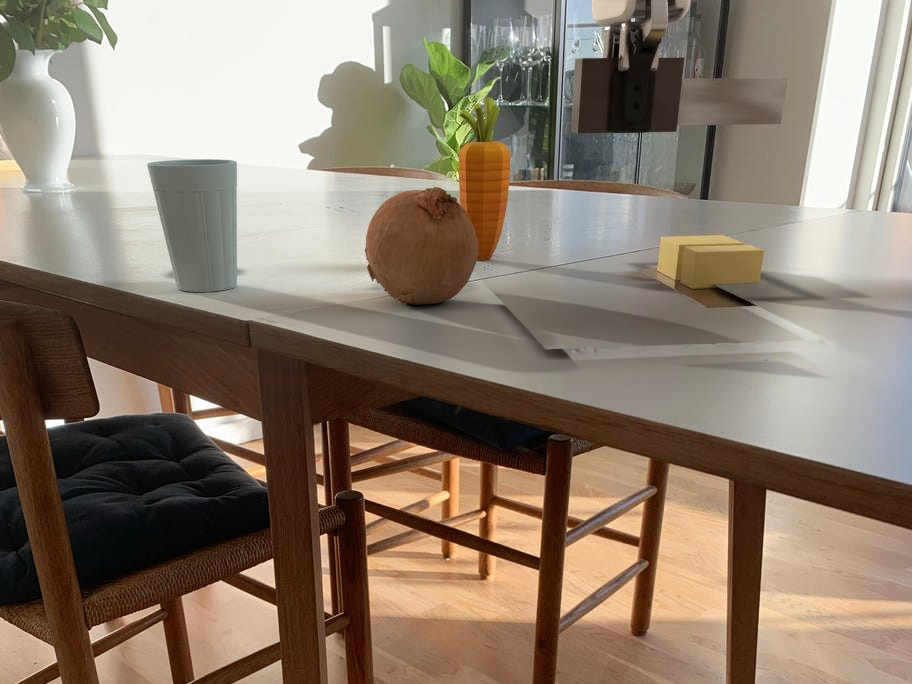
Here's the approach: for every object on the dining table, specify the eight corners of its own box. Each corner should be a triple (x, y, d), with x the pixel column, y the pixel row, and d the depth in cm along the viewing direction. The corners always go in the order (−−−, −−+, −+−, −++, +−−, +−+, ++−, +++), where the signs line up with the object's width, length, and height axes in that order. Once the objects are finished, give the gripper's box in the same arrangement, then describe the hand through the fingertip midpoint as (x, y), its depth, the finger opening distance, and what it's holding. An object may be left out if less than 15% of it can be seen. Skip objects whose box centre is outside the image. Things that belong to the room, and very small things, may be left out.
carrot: (481, 273, 93) (484, 97, 85) (448, 267, 96) (448, 97, 88) (517, 267, 96) (523, 97, 88) (483, 262, 99) (486, 96, 91)
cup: (175, 279, 91) (159, 158, 86) (254, 279, 91) (243, 158, 86) (156, 295, 85) (136, 165, 79) (241, 294, 85) (228, 165, 79)
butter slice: (744, 280, 84) (750, 244, 83) (758, 287, 81) (764, 249, 80) (679, 282, 83) (684, 246, 82) (691, 289, 81) (696, 251, 79)
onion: (459, 342, 81) (501, 235, 74) (352, 315, 78) (385, 202, 71) (452, 281, 87) (490, 177, 80) (352, 255, 84) (382, 144, 77)
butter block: (718, 269, 89) (723, 235, 88) (739, 278, 85) (744, 242, 84) (657, 271, 89) (660, 236, 87) (675, 280, 84) (679, 244, 83)
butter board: (726, 274, 91) (727, 266, 91) (813, 313, 76) (814, 303, 75) (635, 277, 90) (636, 268, 90) (705, 317, 75) (706, 306, 74)
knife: (773, 129, 77) (784, 57, 75) (785, 130, 75) (797, 56, 73) (570, 132, 75) (574, 58, 73) (577, 133, 74) (582, 58, 71)
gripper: (748, -197, 59) (707, 135, 68) (661, -144, 73) (637, 127, 82) (632, -200, 58) (606, 137, 68) (567, -146, 72) (553, 128, 81)
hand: (623, 129), depth 75 cm, fingers closed on knife, 2 cm apart
